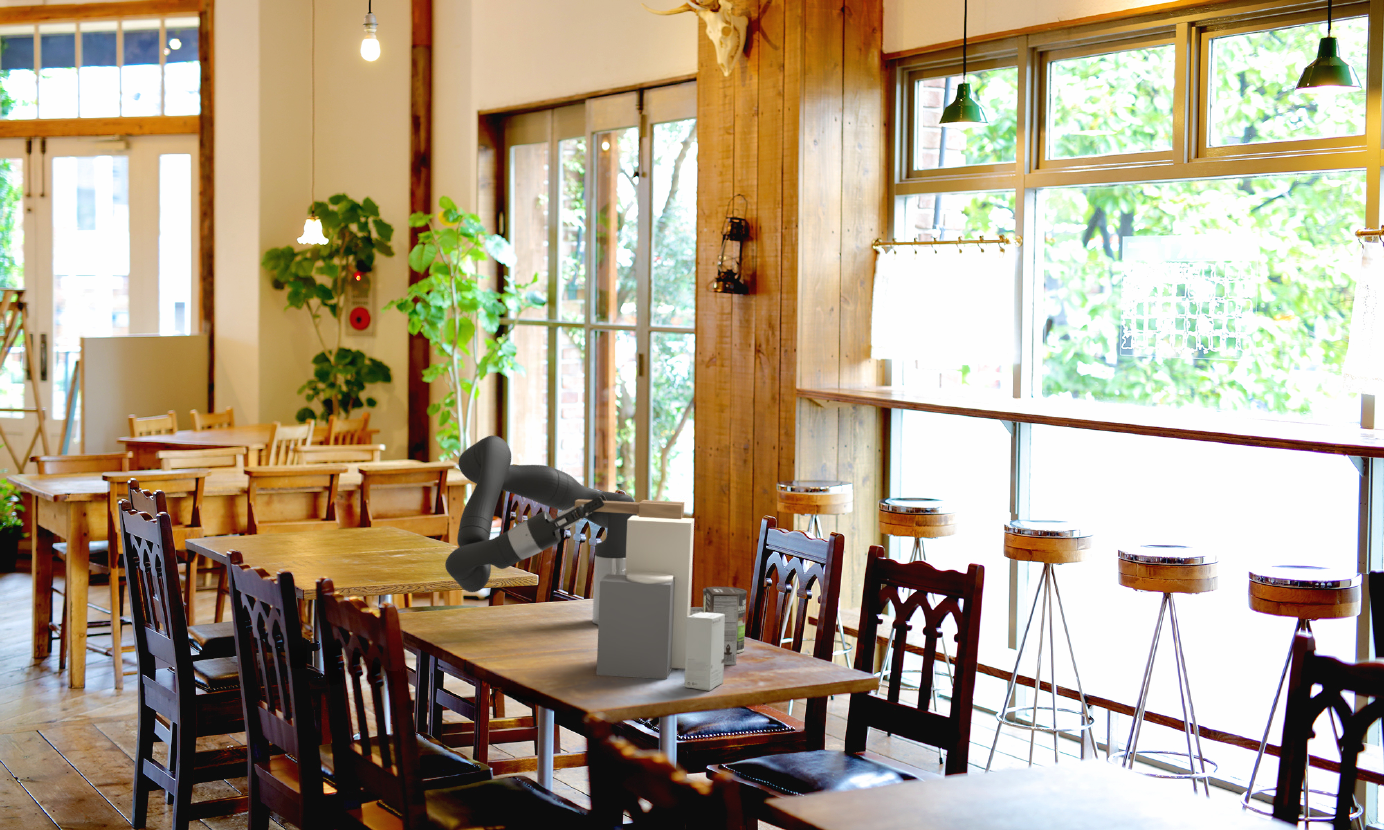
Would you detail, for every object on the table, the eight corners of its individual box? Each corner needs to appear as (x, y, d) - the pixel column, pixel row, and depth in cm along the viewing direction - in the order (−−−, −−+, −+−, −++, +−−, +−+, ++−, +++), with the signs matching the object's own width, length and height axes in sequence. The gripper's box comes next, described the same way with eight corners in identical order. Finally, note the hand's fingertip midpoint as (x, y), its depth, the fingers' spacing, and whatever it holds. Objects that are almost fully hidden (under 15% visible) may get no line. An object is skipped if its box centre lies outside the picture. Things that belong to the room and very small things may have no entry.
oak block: (578, 510, 284) (579, 496, 284) (683, 515, 283) (684, 502, 282) (573, 513, 277) (573, 499, 277) (681, 519, 276) (681, 505, 275)
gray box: (603, 664, 286) (606, 569, 286) (671, 668, 285) (675, 572, 285) (596, 674, 277) (600, 576, 276) (666, 678, 275) (670, 580, 275)
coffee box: (702, 655, 299) (705, 586, 298) (729, 656, 300) (732, 586, 300) (709, 665, 290) (712, 593, 289) (737, 665, 291) (740, 593, 290)
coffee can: (750, 647, 310) (752, 588, 310) (736, 656, 300) (738, 595, 300) (709, 642, 314) (711, 584, 313) (694, 651, 304) (696, 590, 303)
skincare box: (709, 691, 266) (712, 619, 266) (682, 687, 268) (685, 615, 268) (724, 682, 274) (726, 612, 274) (697, 679, 276) (700, 609, 276)
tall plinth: (626, 656, 296) (632, 515, 295) (688, 659, 295) (694, 518, 293) (621, 664, 287) (627, 519, 286) (685, 668, 286) (691, 523, 285)
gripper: (519, 523, 275) (590, 486, 273) (532, 516, 289) (601, 481, 287) (535, 555, 275) (607, 518, 273) (548, 546, 289) (616, 511, 287)
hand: (603, 499), depth 280 cm, fingers closed on oak block, 4 cm apart
